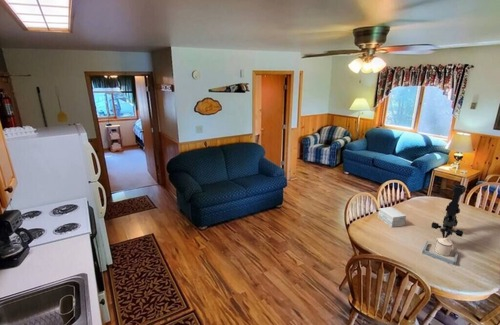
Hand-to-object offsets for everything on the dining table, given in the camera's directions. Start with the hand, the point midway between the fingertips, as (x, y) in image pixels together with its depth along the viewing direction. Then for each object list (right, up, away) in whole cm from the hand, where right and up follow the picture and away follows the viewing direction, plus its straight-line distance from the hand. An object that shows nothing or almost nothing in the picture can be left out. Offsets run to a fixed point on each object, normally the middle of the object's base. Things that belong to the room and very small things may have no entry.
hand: (443, 239), depth 194 cm
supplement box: (-18, +5, +39) cm, 43 cm away
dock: (-5, -9, -3) cm, 11 cm away
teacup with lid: (-2, -8, 0) cm, 8 cm away
